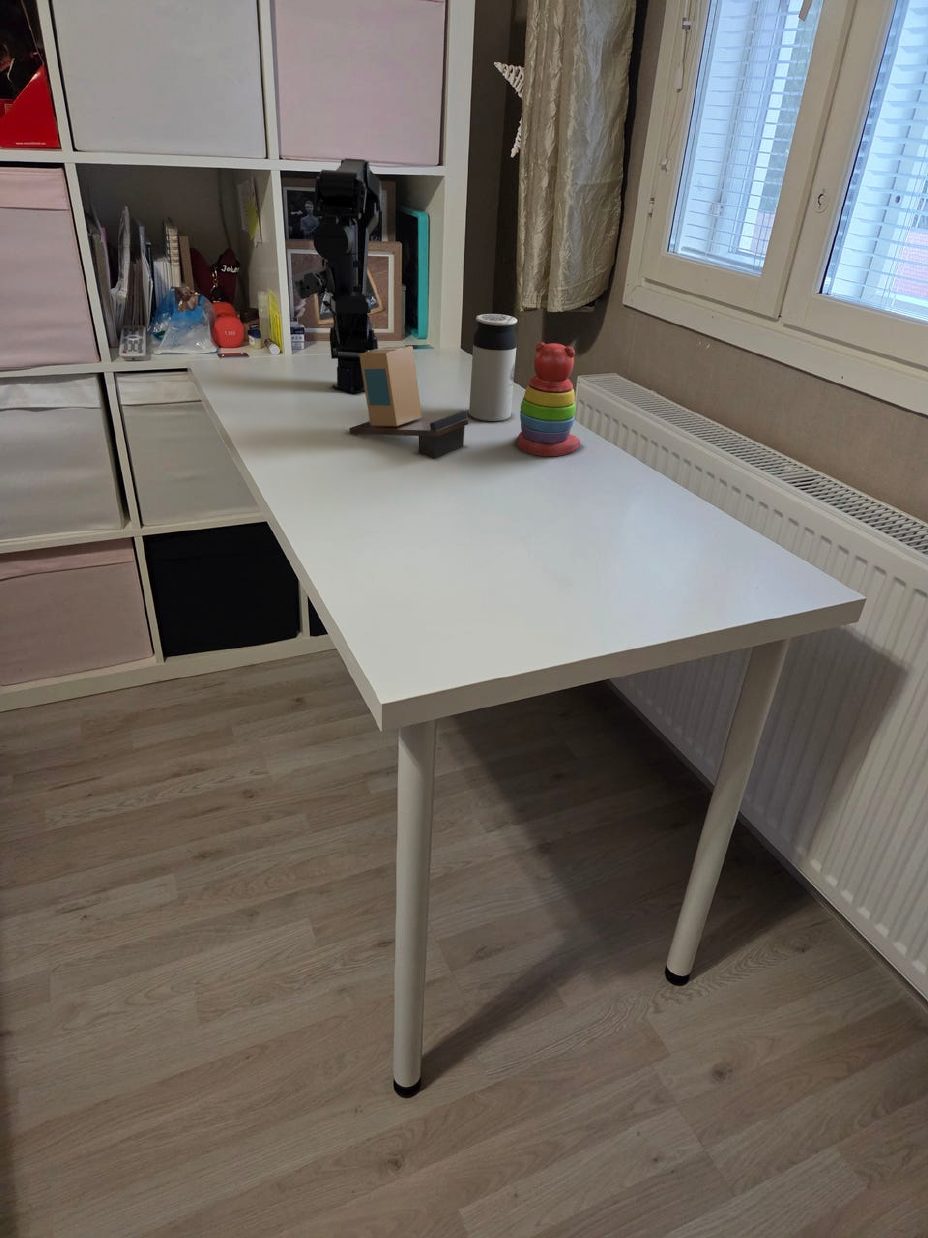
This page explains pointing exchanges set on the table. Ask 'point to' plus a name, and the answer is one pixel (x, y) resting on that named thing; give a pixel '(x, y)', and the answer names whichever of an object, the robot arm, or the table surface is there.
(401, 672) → the table surface
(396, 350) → the carton
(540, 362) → the stacking bear
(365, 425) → the ramp
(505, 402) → the travel mug
